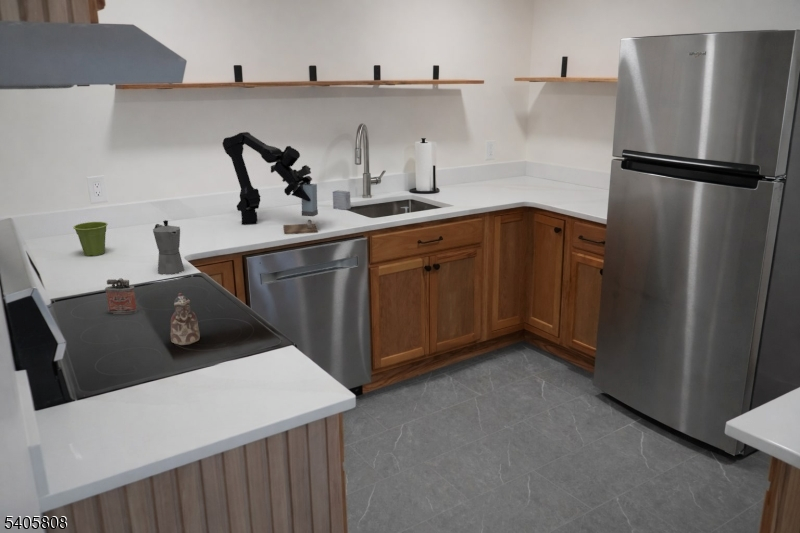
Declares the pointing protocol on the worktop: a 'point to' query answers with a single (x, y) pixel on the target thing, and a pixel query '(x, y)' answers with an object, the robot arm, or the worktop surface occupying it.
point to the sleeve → (310, 206)
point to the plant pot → (92, 237)
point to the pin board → (300, 228)
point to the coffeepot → (168, 248)
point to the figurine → (184, 322)
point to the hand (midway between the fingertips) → (312, 199)
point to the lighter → (120, 297)
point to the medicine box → (341, 200)
